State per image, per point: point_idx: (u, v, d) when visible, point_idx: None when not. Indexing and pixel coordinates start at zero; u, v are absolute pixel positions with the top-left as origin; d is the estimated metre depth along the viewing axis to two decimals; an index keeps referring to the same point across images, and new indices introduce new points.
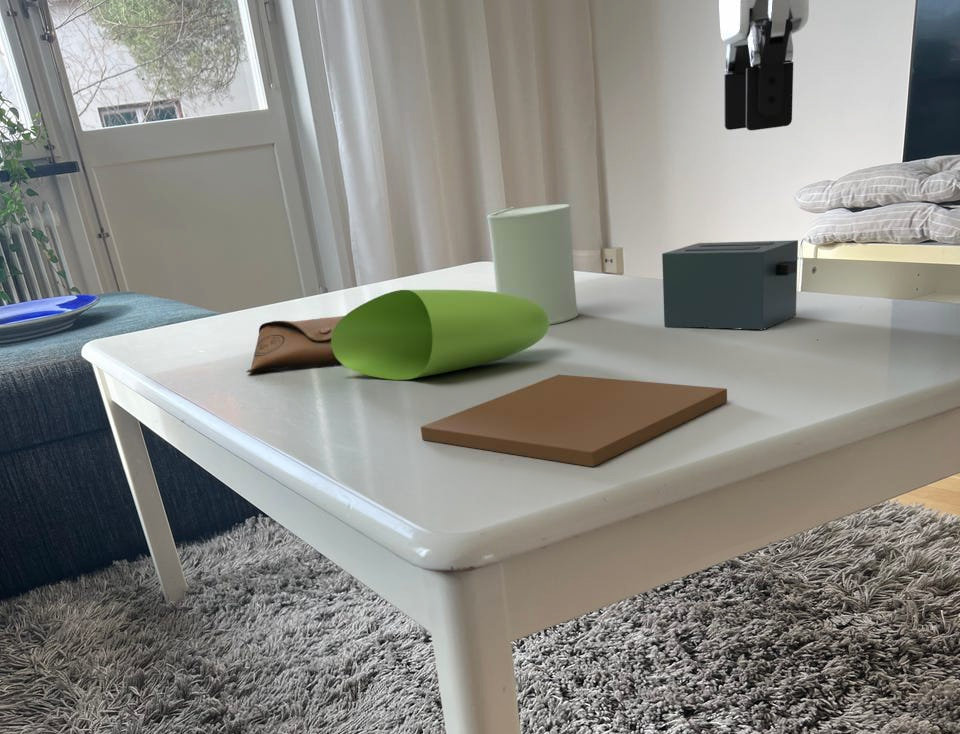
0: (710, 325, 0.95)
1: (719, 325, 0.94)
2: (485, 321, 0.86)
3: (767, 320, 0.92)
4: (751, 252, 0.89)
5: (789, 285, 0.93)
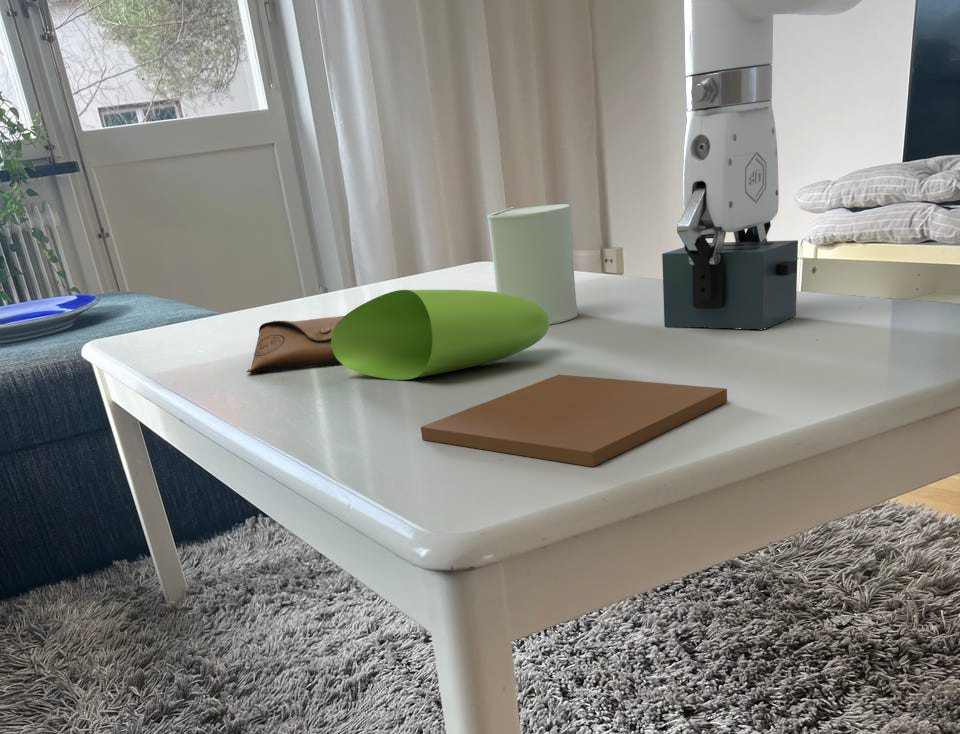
0: (710, 325, 0.95)
1: (719, 325, 0.94)
2: (485, 321, 0.86)
3: (767, 320, 0.92)
4: (751, 252, 0.89)
5: (789, 285, 0.93)
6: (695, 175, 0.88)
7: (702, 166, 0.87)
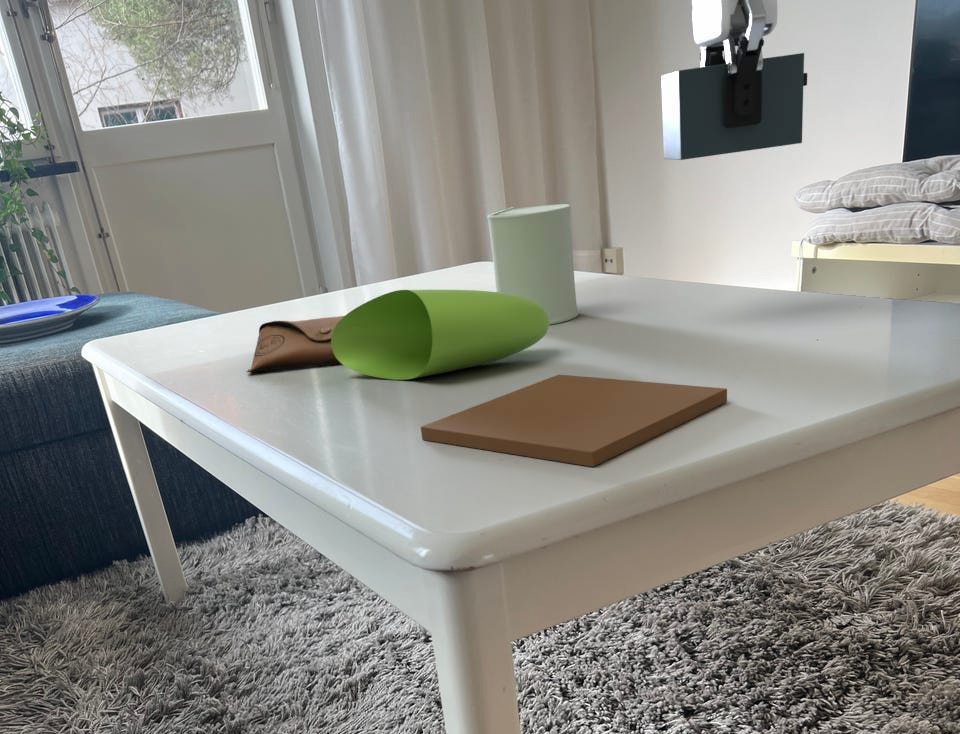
0: (740, 148, 0.87)
1: (751, 146, 0.87)
2: (485, 321, 0.86)
3: None
4: (789, 55, 0.84)
5: None
6: None
7: None
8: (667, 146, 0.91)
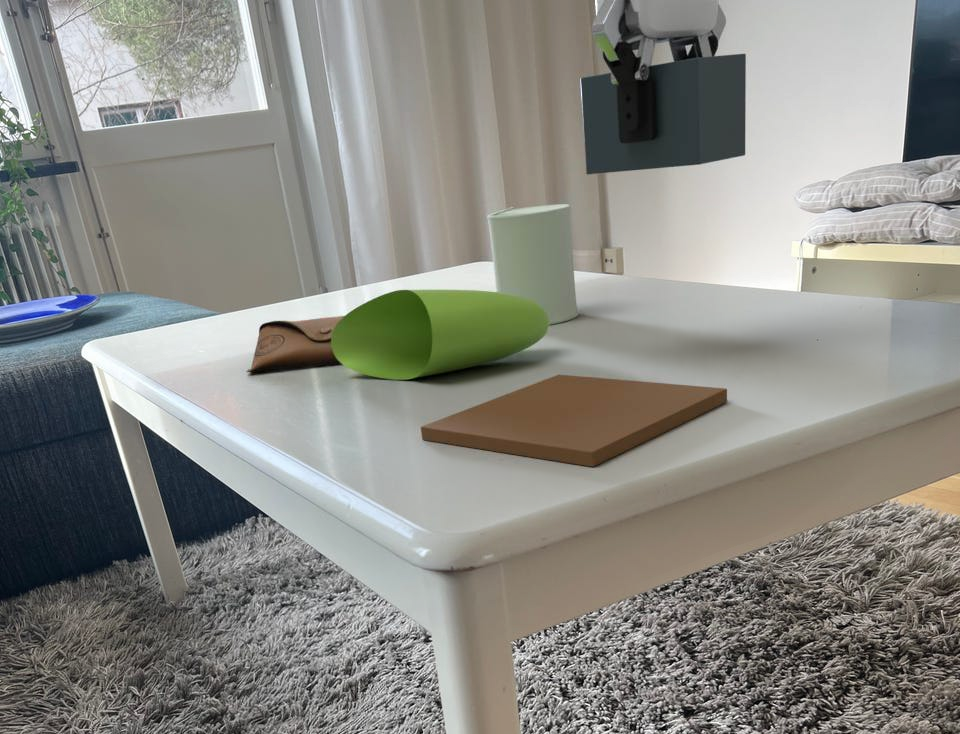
0: None
1: None
2: (485, 321, 0.86)
3: None
4: None
5: None
6: None
7: None
8: (710, 146, 0.74)
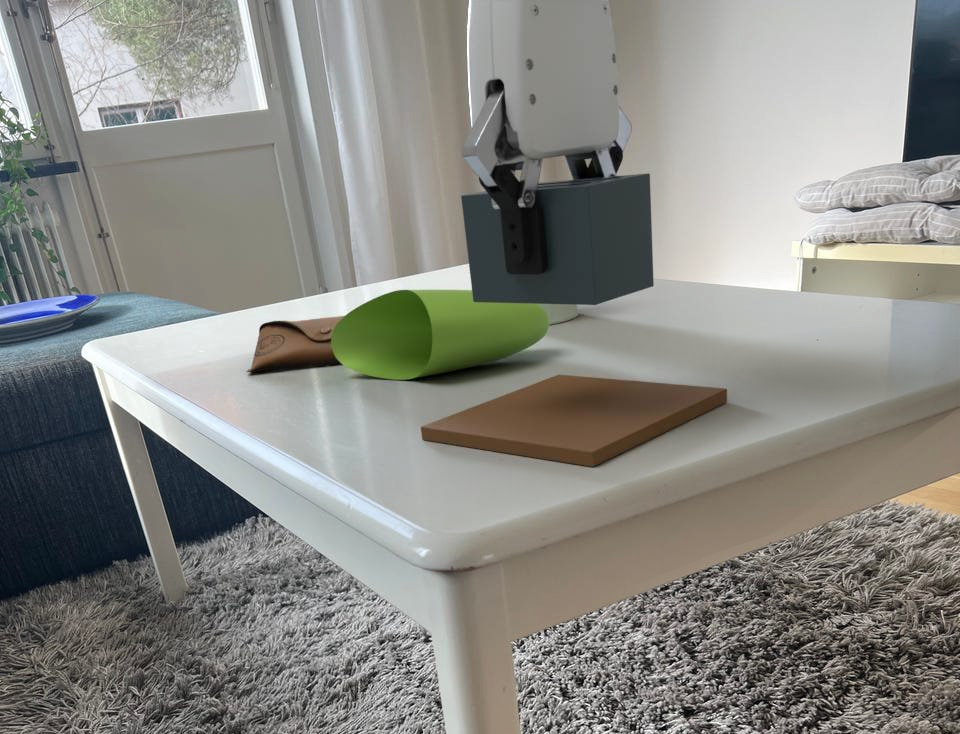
0: None
1: None
2: (485, 321, 0.86)
3: None
4: None
5: None
6: None
7: None
8: (609, 282, 0.63)
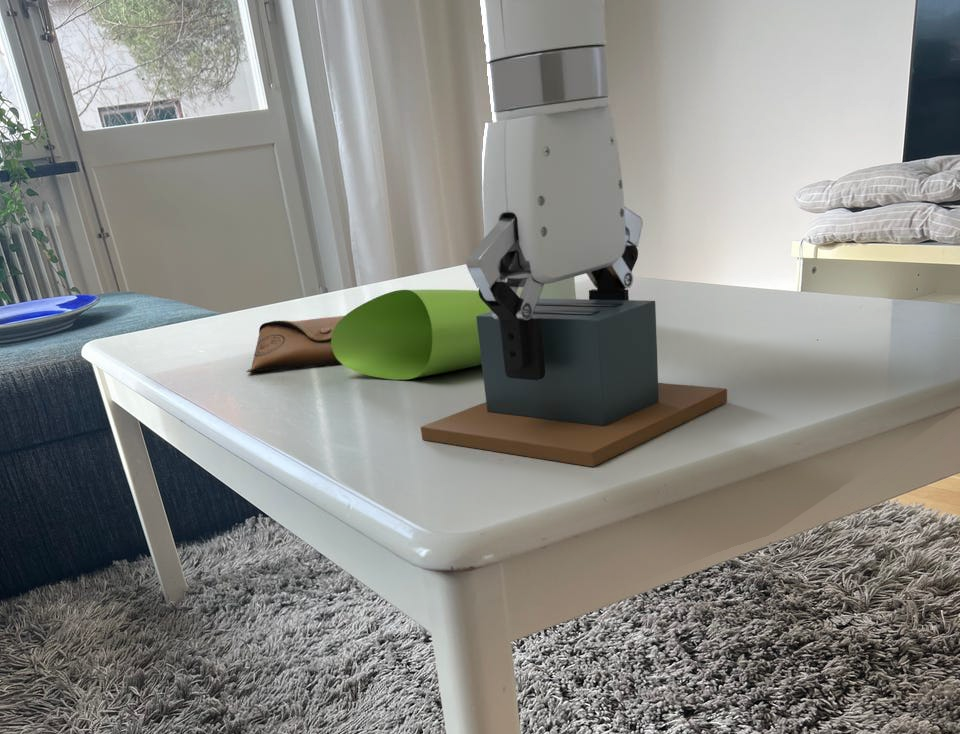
0: None
1: None
2: None
3: None
4: (546, 299, 0.73)
5: None
6: None
7: None
8: (617, 404, 0.66)
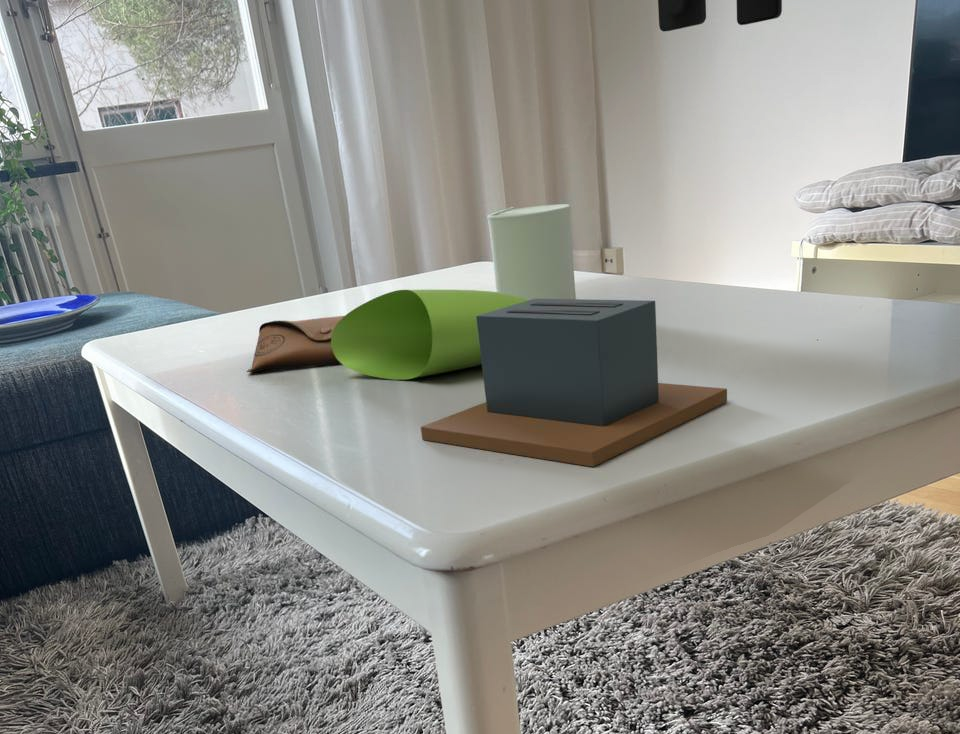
0: None
1: None
2: None
3: None
4: (546, 299, 0.73)
5: None
6: None
7: None
8: (617, 404, 0.66)
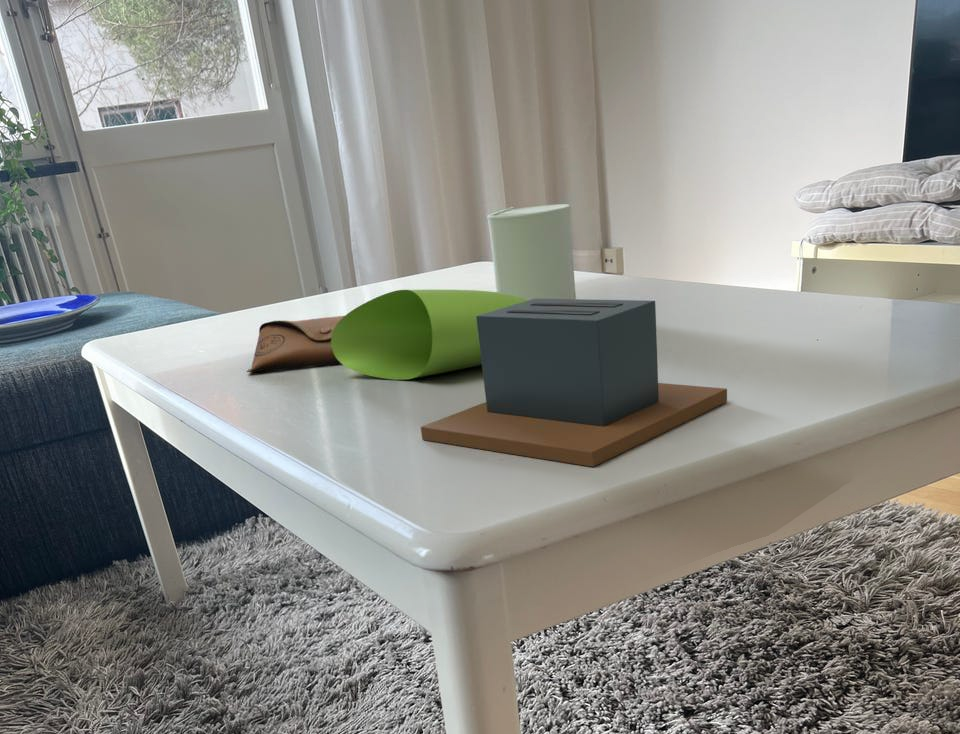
0: None
1: None
2: None
3: None
4: (546, 299, 0.73)
5: None
6: None
7: None
8: (617, 404, 0.66)
